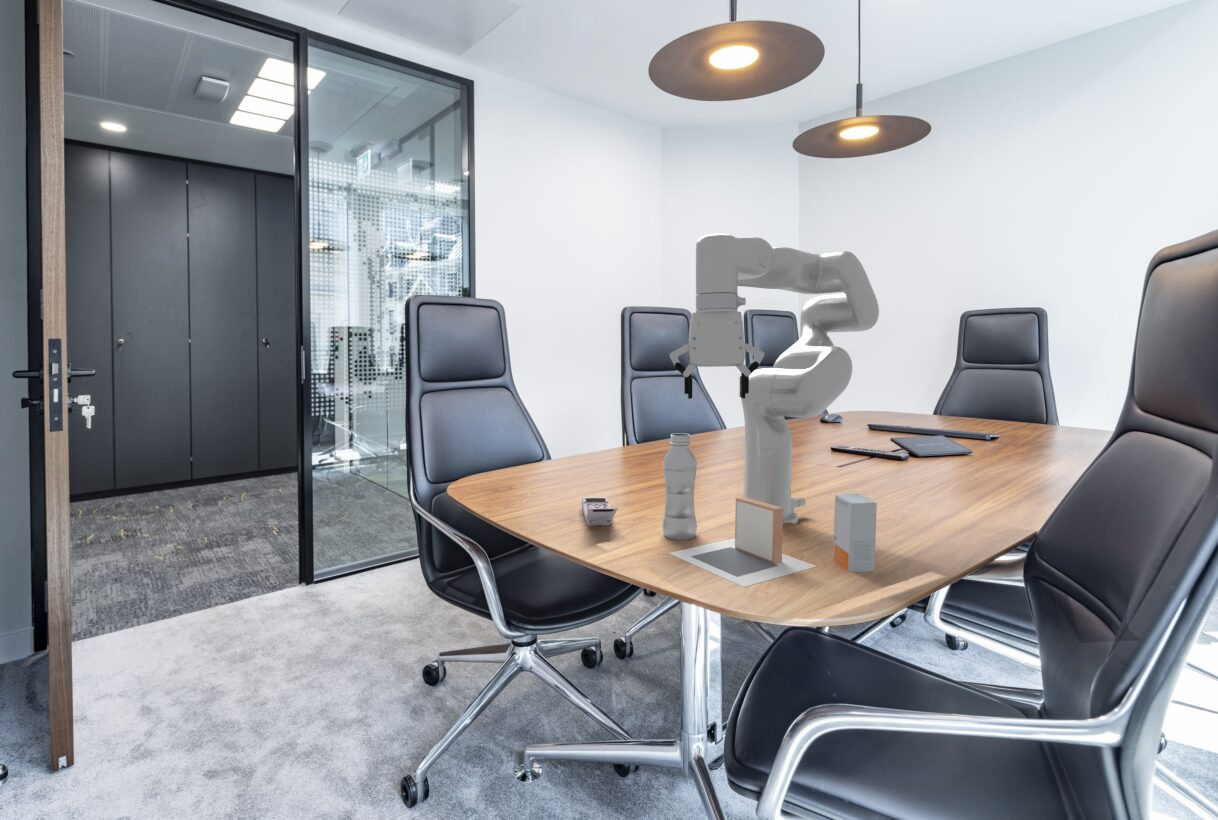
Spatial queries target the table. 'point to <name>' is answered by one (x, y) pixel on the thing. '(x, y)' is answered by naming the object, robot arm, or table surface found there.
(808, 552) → the table surface
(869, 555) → the skincare box
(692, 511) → the plastic bottle
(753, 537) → the tile
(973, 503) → the table surface
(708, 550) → the mat
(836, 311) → the robot arm
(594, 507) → the mobile phone
